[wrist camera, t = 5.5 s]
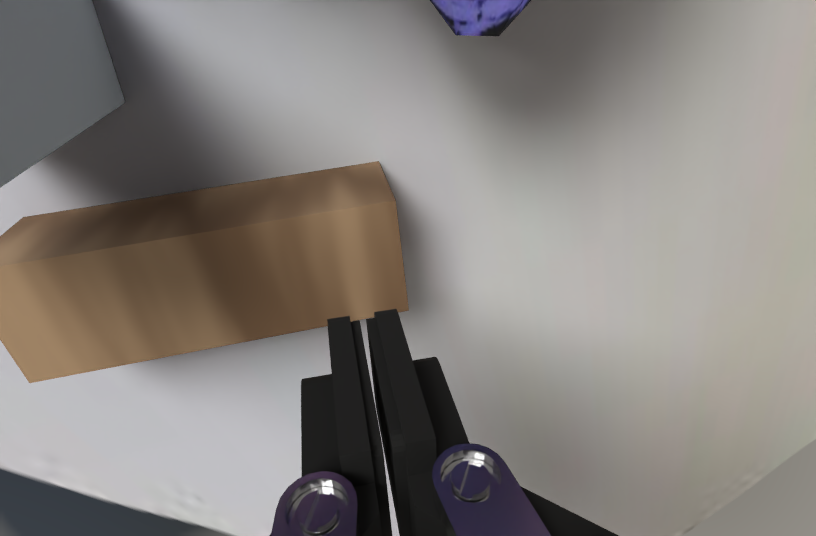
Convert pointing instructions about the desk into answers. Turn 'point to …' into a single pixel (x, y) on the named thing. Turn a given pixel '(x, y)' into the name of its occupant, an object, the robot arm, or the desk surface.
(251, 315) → the walnut block
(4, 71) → the grey block
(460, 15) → the decorative ornament
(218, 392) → the desk surface
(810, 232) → the desk surface
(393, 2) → the desk surface
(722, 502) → the desk surface
